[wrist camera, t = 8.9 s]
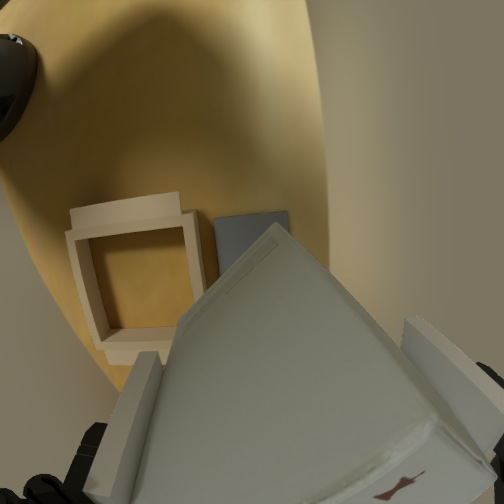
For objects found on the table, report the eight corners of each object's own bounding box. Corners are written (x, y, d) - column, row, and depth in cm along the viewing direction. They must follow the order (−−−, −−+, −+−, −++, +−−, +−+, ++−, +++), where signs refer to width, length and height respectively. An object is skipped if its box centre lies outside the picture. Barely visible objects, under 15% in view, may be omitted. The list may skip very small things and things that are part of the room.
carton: (110, 350, 31) (101, 364, 28) (75, 207, 27) (61, 210, 24) (216, 346, 31) (215, 362, 29) (194, 188, 27) (190, 189, 24)
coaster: (221, 287, 30) (221, 288, 29) (213, 218, 28) (213, 218, 27) (290, 279, 30) (291, 281, 30) (286, 210, 28) (287, 211, 28)
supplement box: (175, 317, 15) (105, 553, 3) (276, 216, 14) (460, 405, 2) (270, 390, 17) (309, 584, 5) (364, 309, 16) (506, 479, 4)
